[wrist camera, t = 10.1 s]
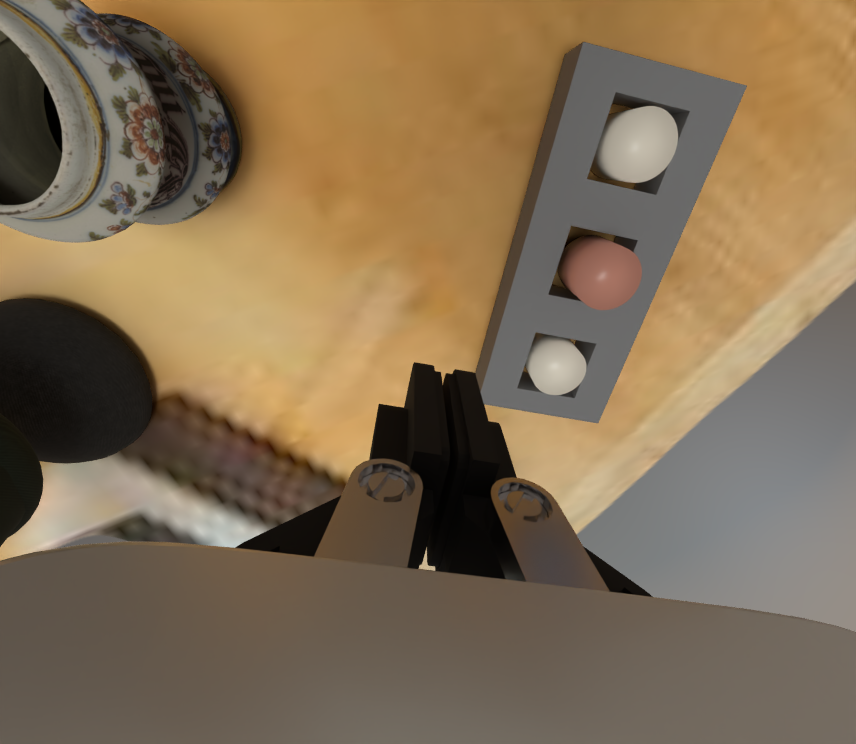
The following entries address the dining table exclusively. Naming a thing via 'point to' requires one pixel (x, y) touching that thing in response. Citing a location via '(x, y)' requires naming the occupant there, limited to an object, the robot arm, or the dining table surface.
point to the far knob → (555, 364)
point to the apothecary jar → (104, 124)
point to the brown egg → (600, 272)
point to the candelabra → (60, 398)
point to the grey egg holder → (597, 223)
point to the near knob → (635, 145)
